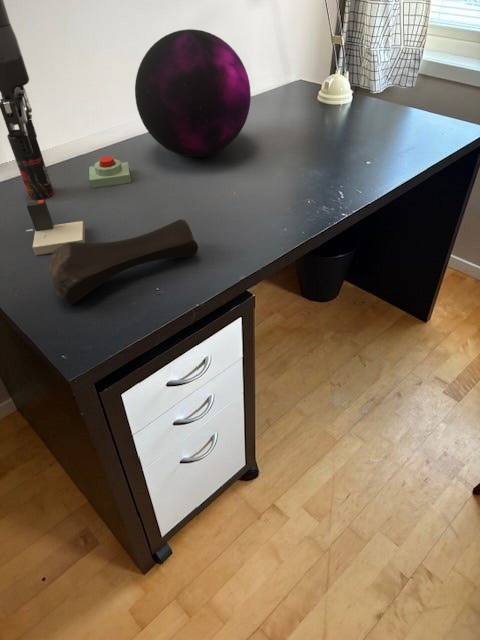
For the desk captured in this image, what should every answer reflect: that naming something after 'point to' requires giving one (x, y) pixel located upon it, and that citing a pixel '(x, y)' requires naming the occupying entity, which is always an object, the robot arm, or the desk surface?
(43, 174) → the deodorant
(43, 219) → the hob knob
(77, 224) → the cream flat slab
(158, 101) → the mottled black-purple ball
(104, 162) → the red push button
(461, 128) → the desk surface
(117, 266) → the dark brown bone
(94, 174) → the box
